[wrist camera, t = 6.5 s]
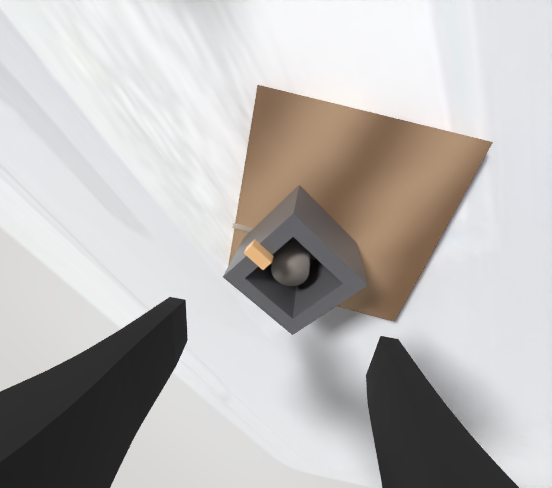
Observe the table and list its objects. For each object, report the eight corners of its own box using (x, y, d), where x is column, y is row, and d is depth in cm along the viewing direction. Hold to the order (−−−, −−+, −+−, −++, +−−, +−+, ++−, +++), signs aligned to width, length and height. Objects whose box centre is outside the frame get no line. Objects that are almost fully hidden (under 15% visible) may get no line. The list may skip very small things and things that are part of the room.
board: (482, 139, 15) (540, 153, 11) (391, 312, 20) (407, 362, 16) (259, 85, 15) (237, 79, 11) (229, 268, 21) (207, 307, 17)
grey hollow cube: (356, 242, 17) (369, 293, 13) (297, 286, 19) (291, 343, 15) (295, 181, 16) (287, 213, 12) (240, 234, 18) (214, 280, 14)
